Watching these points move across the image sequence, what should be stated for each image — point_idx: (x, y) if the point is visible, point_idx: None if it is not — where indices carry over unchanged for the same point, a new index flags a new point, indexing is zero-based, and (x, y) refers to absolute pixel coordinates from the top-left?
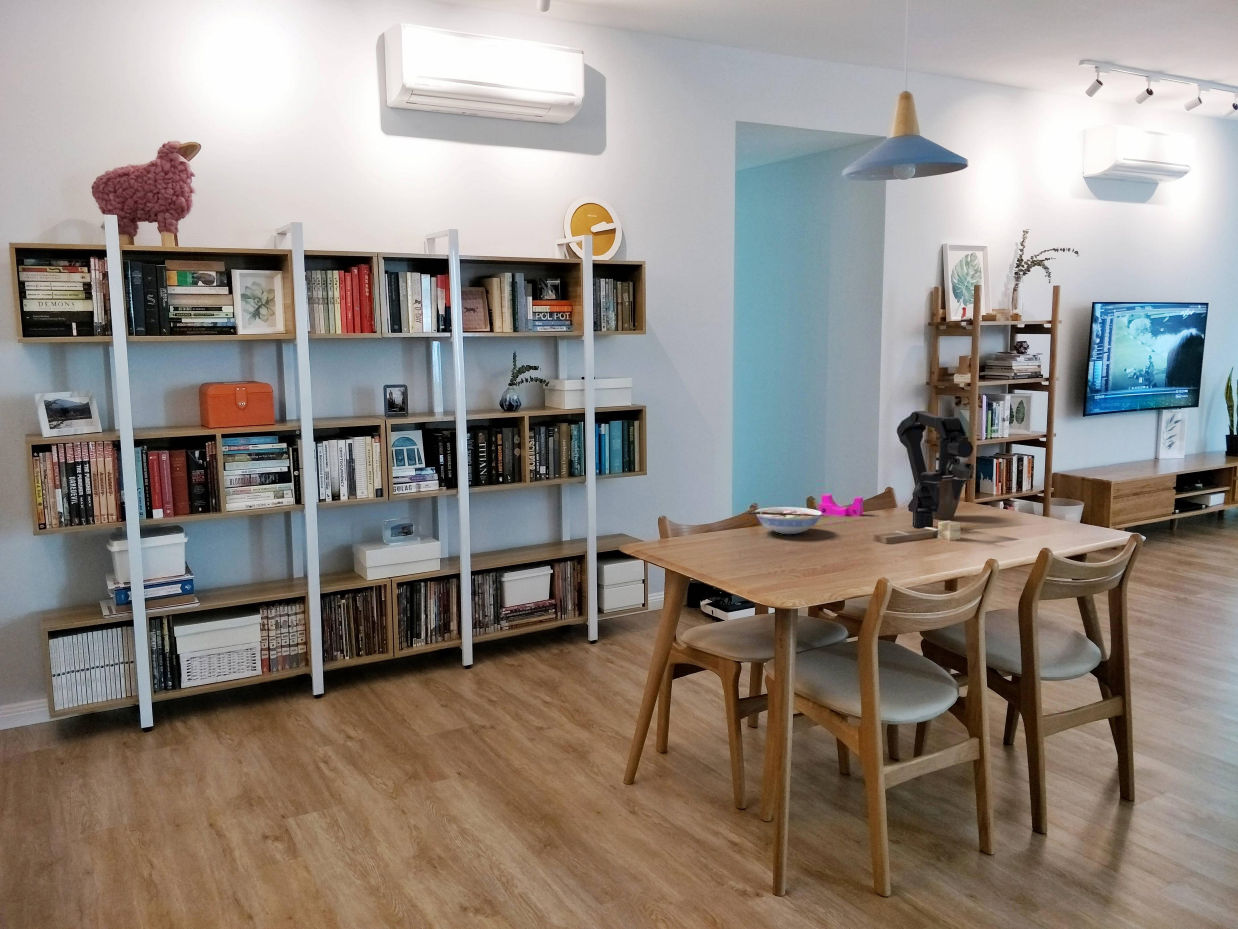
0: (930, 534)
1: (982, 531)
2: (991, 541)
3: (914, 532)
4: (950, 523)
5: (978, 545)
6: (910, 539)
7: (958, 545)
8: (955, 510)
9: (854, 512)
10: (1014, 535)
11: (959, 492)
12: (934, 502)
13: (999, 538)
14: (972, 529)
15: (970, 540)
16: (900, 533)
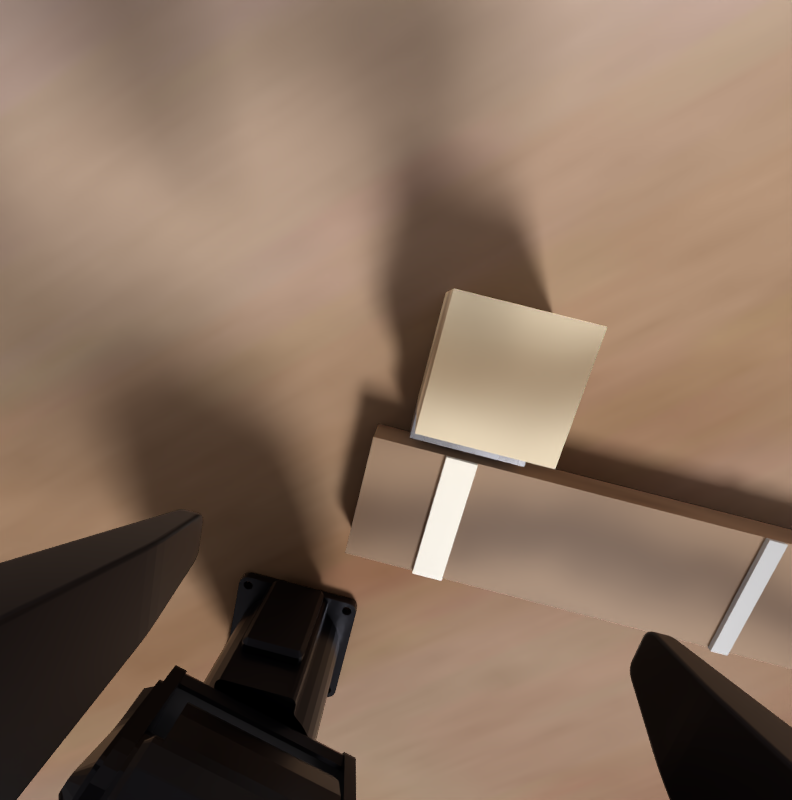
0: (547, 474)
1: (67, 325)
2: (358, 63)
3: (656, 551)
4: (554, 348)
5: (592, 47)
6: (728, 516)
7: (695, 171)
8: None
9: None
10: (3, 64)
11: (54, 566)
12: (208, 756)
13: (199, 85)
14: (62, 408)
15: (436, 211)
16: (761, 601)
